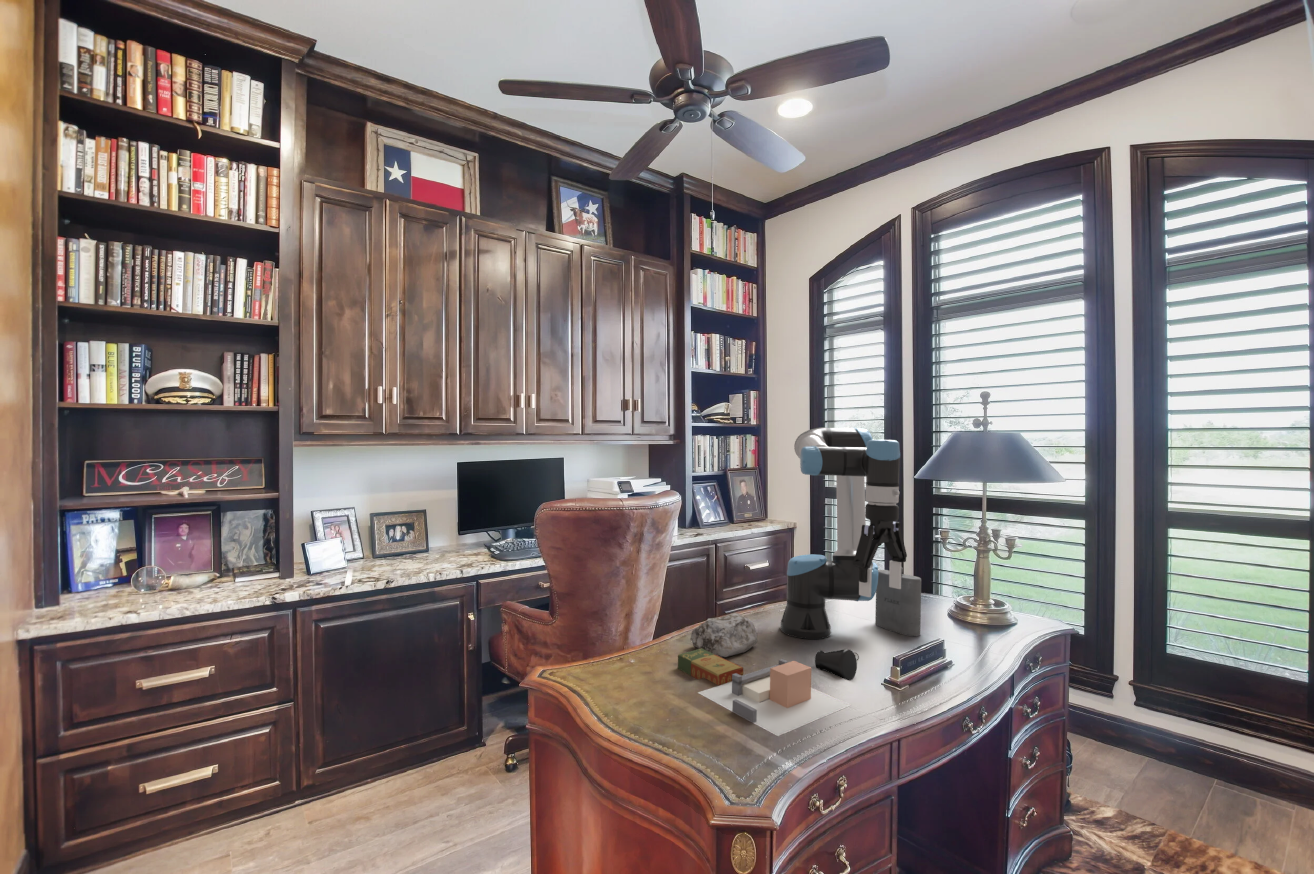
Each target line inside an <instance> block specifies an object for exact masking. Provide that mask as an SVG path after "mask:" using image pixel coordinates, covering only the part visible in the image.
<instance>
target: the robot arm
mask: <svg viewBox="0 0 1314 874" xmlns="http://www.w3.org/2000/svg"><path fill="white" fill-rule="evenodd" d="M900 451H901V450H900V442H899V441H897V440H896V439H873V436H872V434H871V432H870V431H869V430H868V429H866V428H857V427H816V428H812V429H808V430H806V431H804V432H802V433H800V434H799V435H798V436H797V438H796V439H795V441H794V452H795V454H796V456H797V457H798V458H799V463H800V466H799V467H800V472H801V473H802V474H803V475H810V476H814V477H815V476H835V477H836V478H835V479H836V484H835V485H836V537H837V538H836V542H837V543H836V551H834V553H833V554H832V559H831V560H827V557H826V556H825V555H822V554H815V553H814V554H811V553H809V554H802V555H800V554H799V555H796V556H794V557H791V558H790V559H789V560H788V561H787V571H786V575H787V576H786V577H787V581H786V583H787V584H786V606H785V608H784V612H783V615H782V617H781V620H780V631H781V632H782V633H784V634H786V635H788V636H790V637H794V638H797V639H798V638H799V639H808V640H809V639H810V640H818V639H825V638H828V637H829V636H831V633H832V629H831V628H832V626H831V624H830V621H829V617H828V613H827V609H826V600H837V601H854V602H869V601H871V600H873V599H874V597H875V596H876V589H877V584H878V570H879V566H878V564H877V563H875V562H874V561H873V560H874V558H875V556H876V554H877V551H878V548H879V547H880V546H881V545H882V544H884V545H885V547H886V549H887V552H888V554H889V555H890V558H891V560H889V566H888V568H889V587H892V588H897V589H901V567H902V563H906V562H907V557H908V554H907V549H906V546H905V542H904V538H903V533H902V527H901V524H902V523H901V522H900V521H898V520H899V518H900V517H899V515H900V513H899V512H900V511H899V510H900V507H899V506H898V503H899V500H900V499H899V497H900V493H901V492H900V491H899V490H900V460H901V452H900ZM865 479H866V481H865ZM866 519H867V520H868V521H869V525H866Z"/></svg>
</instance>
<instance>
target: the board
mask: <svg viewBox="0 0 1314 874" xmlns="http://www.w3.org/2000/svg"><path fill="white" fill-rule="evenodd" d="M788 662H790V661H788V660H785V659H783V658H780V659H778V664H775V665H772V666H768V667H765V668H761V669H759V670H755V671H752V672H749V673H746V674H743V675H742V676H741V675H739V674H737V673H735V674H732V681H731V682H728V683H725V684H721V685H717V686H714V687H710V688H707V689H704V690H701V691H698V692H697V694H699V695H701V696H703V697H704V698H706V699H708V700H710V701H711V702H713V703H715V704H717V705H718V706H721V707H723V708H725V709H727V711H730V712H732V713H734V714H736V715H737V716H739V717H741V718H743V719H744V720H746V721H749V722H750V723H752V724H754V725H756V726H757V727H760V728H761V729H764V730H765V731H767V732H769V733H771V734H773V735H774V736H776V737H780V736H782V735H784V734H787V733H789V732H792V731H794V730H798V729H799V728H802V727H804V726H806V725H808V724H810V723H813V722H815V721H817V720H821V719H822V718H825V717H827V716H830V715H832V714H834V713H836V712H838V711H839V712H840V711H841V710H844V709H846V708H848V707H851V706H852V704H850V703H848V702H846V701H844V700H841V699H839V698H836V697H834V696H832V695H829V694H827V693H825V692H823V691H820V690H818V689H816V688H813V687H811V699H809V700H807V701H804V702H802V703H799V704H796V705H794V706H791V707H789V708H786V707H784V706H782V705H780V704H778V703H776V702H774V701H771V700H770V668H773V667H776V666H779V665H782V664H785V663H788Z"/></svg>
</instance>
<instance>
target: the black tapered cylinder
mask: <svg viewBox="0 0 1314 874" xmlns="http://www.w3.org/2000/svg"><path fill="white" fill-rule="evenodd" d="M856 655H857V656H856ZM859 659H860V656H859V654H858V653H857V652H854V651H853V649H849V648H844V649H836V650H832V651H826V652H825V651H824V650H821V649H819V650H817V651H816V654H815V655H814V664H815V668H816V669H818V670H821V671H823V670H824V671H826V672H828V673H830V674H832V675H834V676H836V677H838V678H840V679H843V680H846V681H851V680H853V679H854V678H855V677H856V673H857V669H858V661H859Z"/></svg>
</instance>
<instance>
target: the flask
mask: <svg viewBox="0 0 1314 874" xmlns="http://www.w3.org/2000/svg"><path fill="white" fill-rule="evenodd" d="M921 613H922V578H921V577H919V576H915V575H911V574H904V567H902V566H901V589H897V588H892V587H889V570H888V569H878V584H877V589H876V593H875V617H874V618H875V620H874V621H875V622H874V623H875V625H876V626H878V627H879V628H880V629H881V628H882V629H884V630H886V631H890V632H893V633H897V634H901V635H904V636H908V637H919V636H920V635H921V623H922V622H921V618H922V617H921V616H922V615H921Z"/></svg>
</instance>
